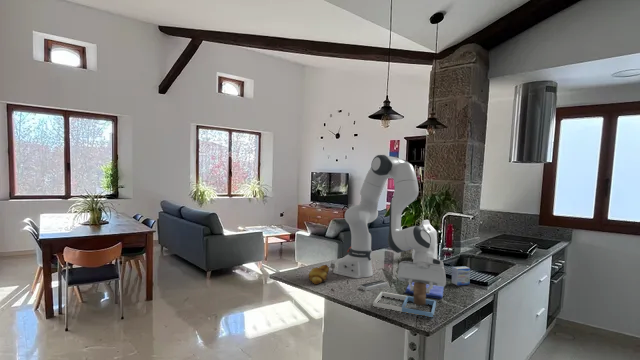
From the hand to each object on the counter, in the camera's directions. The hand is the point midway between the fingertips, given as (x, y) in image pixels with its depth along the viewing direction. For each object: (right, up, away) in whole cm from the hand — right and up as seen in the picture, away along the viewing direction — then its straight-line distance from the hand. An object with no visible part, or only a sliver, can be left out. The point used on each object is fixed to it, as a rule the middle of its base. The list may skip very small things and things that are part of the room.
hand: (419, 291), depth 143 cm
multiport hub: (-15, -7, +26) cm, 31 cm away
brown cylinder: (0, -5, +1) cm, 5 cm away
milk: (+27, -6, +82) cm, 87 cm away
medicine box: (+31, -7, +34) cm, 47 cm away
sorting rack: (-5, -7, +3) cm, 10 cm away
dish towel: (+10, -8, +26) cm, 29 cm away
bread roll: (-44, -6, +33) cm, 55 cm away
